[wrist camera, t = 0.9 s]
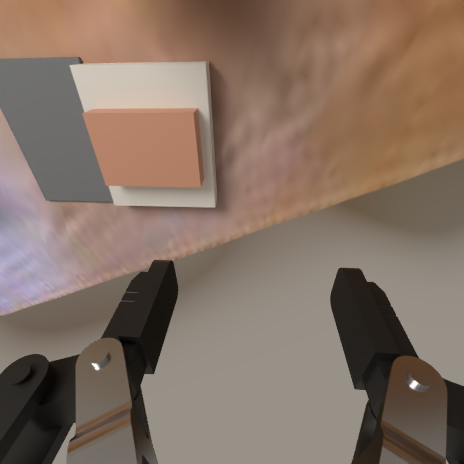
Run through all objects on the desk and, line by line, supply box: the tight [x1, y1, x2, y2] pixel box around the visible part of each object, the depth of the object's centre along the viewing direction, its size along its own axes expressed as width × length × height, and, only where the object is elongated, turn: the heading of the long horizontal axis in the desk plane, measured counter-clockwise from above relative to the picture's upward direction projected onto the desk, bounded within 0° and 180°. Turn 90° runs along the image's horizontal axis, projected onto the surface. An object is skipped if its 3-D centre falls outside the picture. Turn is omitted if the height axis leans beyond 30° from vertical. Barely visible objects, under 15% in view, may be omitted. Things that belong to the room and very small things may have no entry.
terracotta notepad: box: [82, 108, 204, 187], centre depth 26 cm, size 10×7×2 cm
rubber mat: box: [0, 57, 113, 202], centre depth 29 cm, size 10×15×1 cm, turn 1°
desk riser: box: [69, 61, 217, 208], centre depth 27 cm, size 12×14×2 cm
